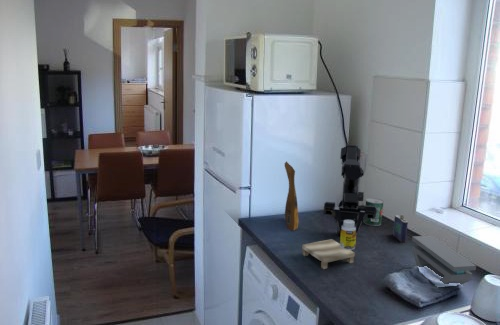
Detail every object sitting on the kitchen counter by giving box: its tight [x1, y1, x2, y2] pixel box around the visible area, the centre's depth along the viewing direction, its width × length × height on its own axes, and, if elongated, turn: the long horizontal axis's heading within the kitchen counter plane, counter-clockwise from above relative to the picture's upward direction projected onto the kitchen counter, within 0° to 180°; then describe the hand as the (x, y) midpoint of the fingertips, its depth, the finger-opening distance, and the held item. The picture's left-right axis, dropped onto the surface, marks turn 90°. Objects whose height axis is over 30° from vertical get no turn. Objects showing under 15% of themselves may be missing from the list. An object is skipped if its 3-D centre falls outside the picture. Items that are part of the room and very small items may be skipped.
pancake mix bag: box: [284, 161, 299, 232], centre depth 202 cm, size 7×19×28 cm, turn 179°
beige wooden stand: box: [301, 238, 356, 270], centre depth 171 cm, size 14×14×4 cm
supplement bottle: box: [339, 220, 357, 251], centre depth 164 cm, size 6×6×10 cm
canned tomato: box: [363, 197, 384, 227], centre depth 209 cm, size 8×8×11 cm
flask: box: [392, 214, 409, 243], centre depth 192 cm, size 9×3×11 cm, turn 8°
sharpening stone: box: [411, 235, 477, 286], centre depth 157 cm, size 25×8×11 cm, turn 11°
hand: (348, 231), depth 163 cm, fingers closed on supplement bottle, 5 cm apart
